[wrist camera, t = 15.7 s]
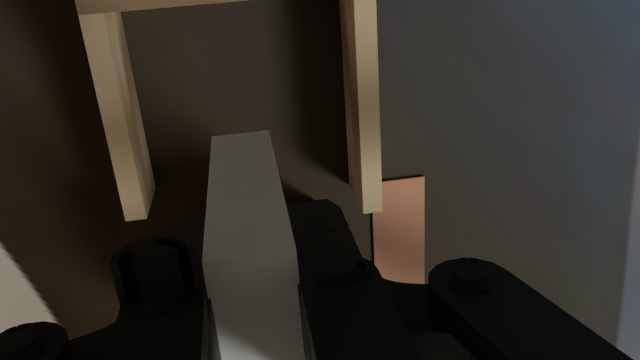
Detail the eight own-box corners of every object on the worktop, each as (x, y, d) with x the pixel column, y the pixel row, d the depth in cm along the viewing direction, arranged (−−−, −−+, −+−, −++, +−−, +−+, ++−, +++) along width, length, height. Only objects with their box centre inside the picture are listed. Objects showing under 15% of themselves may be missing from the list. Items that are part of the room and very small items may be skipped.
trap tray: (-158, 4, 21) (-218, 14, 18) (424, -45, 23) (450, -42, 20) (25, 480, 30) (4, 534, 27) (423, 413, 32) (441, 456, 30)
